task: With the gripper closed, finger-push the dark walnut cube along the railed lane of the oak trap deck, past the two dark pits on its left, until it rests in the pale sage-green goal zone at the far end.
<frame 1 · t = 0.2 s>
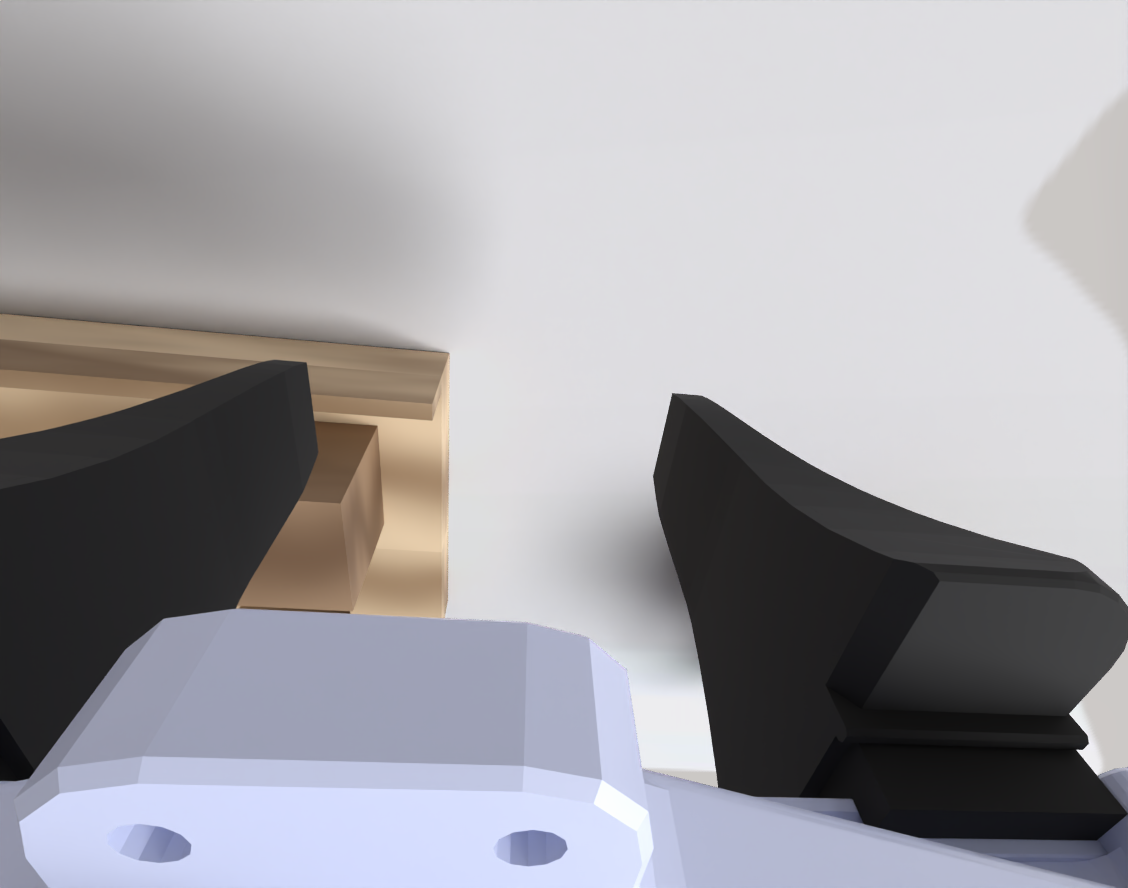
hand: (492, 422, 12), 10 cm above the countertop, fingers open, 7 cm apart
trap deck: (203, 477, 24), on the countertop
walnut block: (319, 473, 21), point 2 cm above the countertop, touching trap deck
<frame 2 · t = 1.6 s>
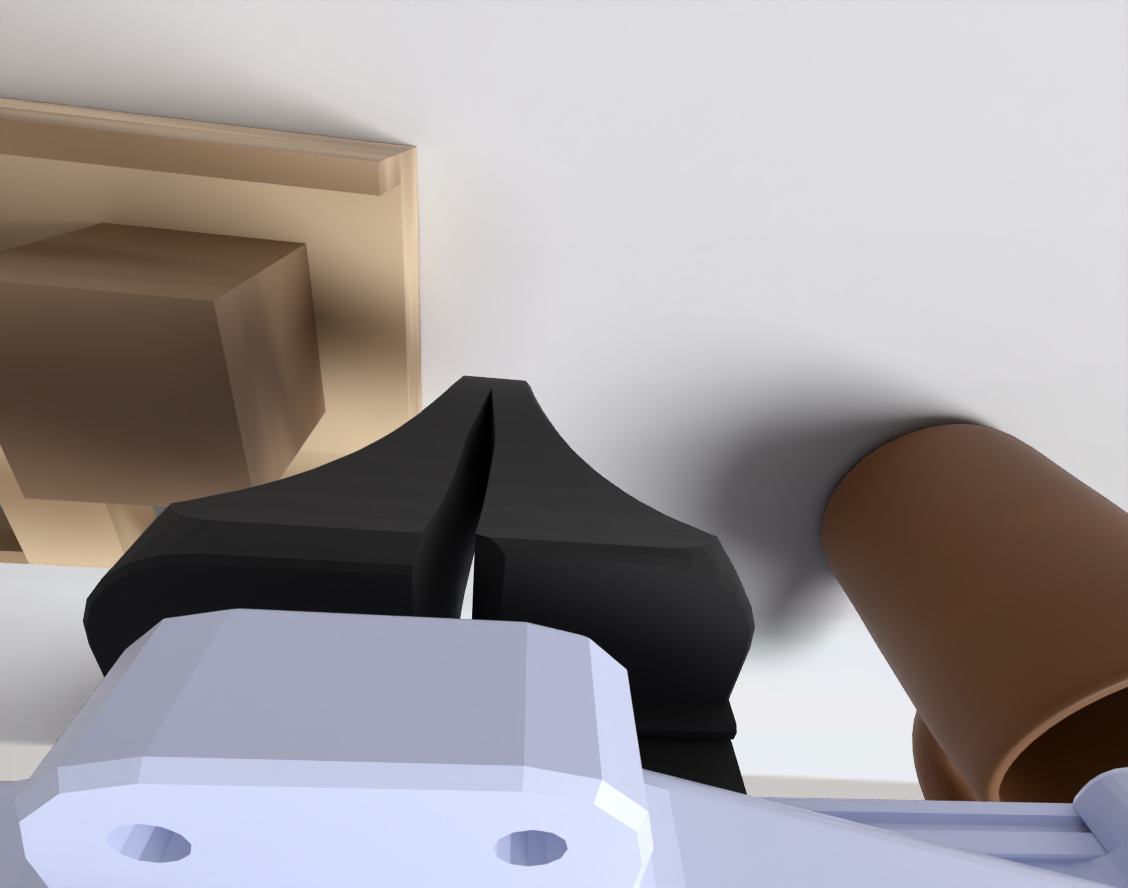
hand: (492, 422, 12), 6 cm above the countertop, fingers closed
mug: (895, 547, 22), on the countertop
trap deck: (73, 354, 17), on the countertop
walnut block: (224, 325, 14), point 2 cm above the countertop, touching trap deck
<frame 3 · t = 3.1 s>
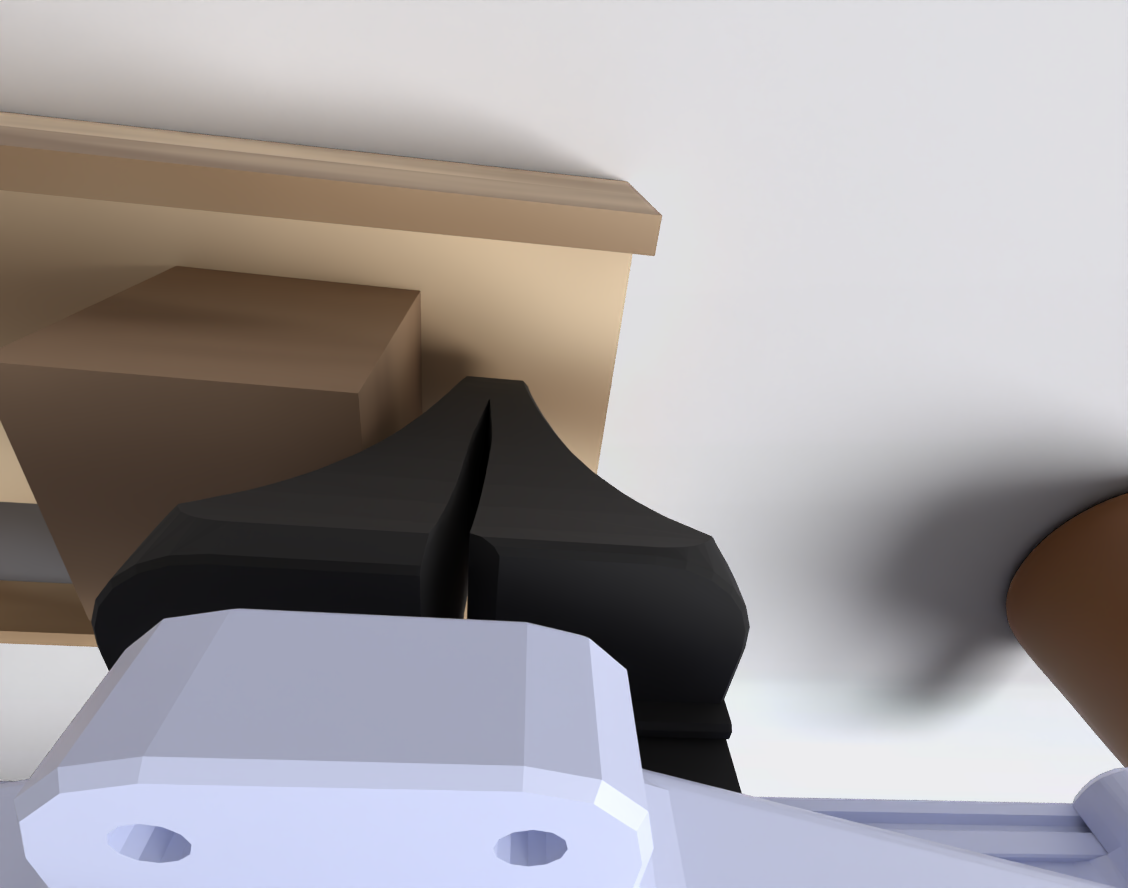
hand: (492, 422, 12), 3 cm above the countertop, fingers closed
mug: (1078, 610, 20), on the countertop
trap deck: (199, 416, 15), on the countertop
walnut block: (313, 385, 12), point 2 cm above the countertop, touching gripper
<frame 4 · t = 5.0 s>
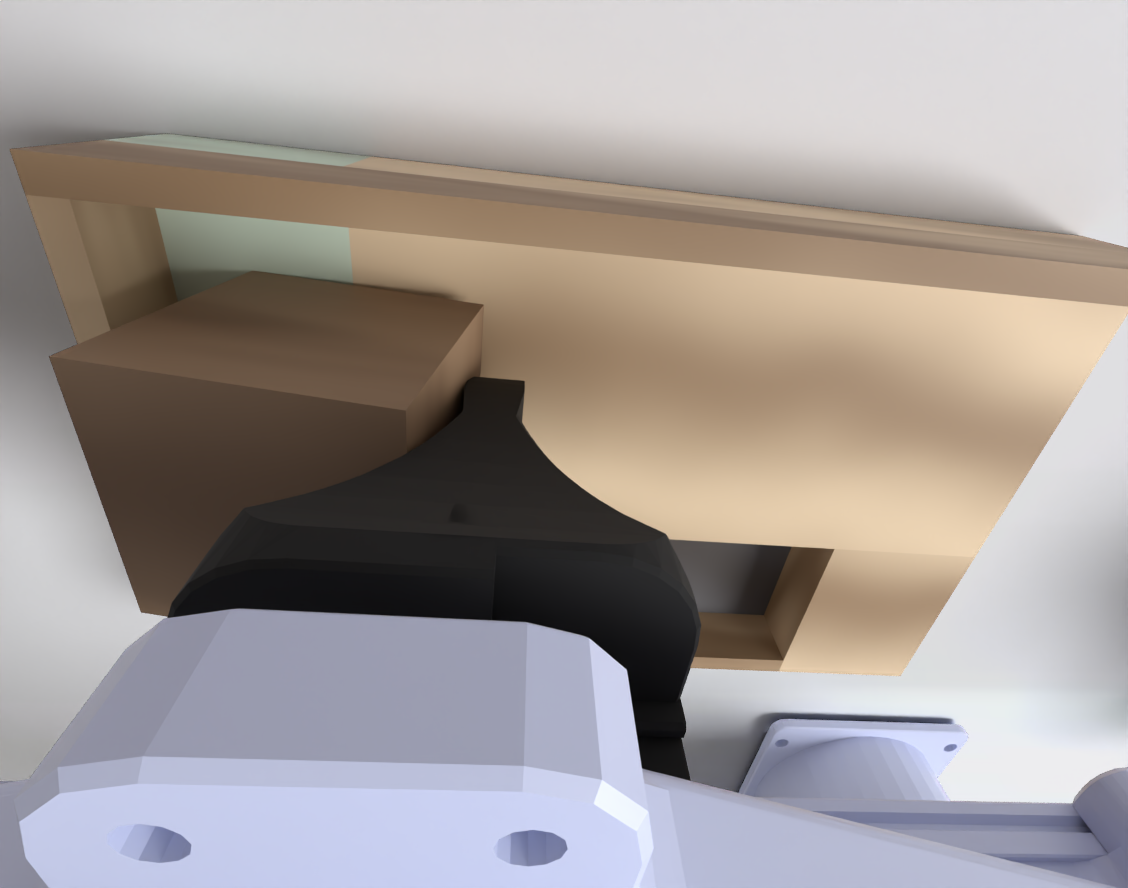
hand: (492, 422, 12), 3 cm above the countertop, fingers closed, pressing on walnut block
trap deck: (612, 445, 16), on the countertop
walnut block: (373, 393, 12), point 2 cm above the countertop, tilted 8°, touching gripper, trap deck
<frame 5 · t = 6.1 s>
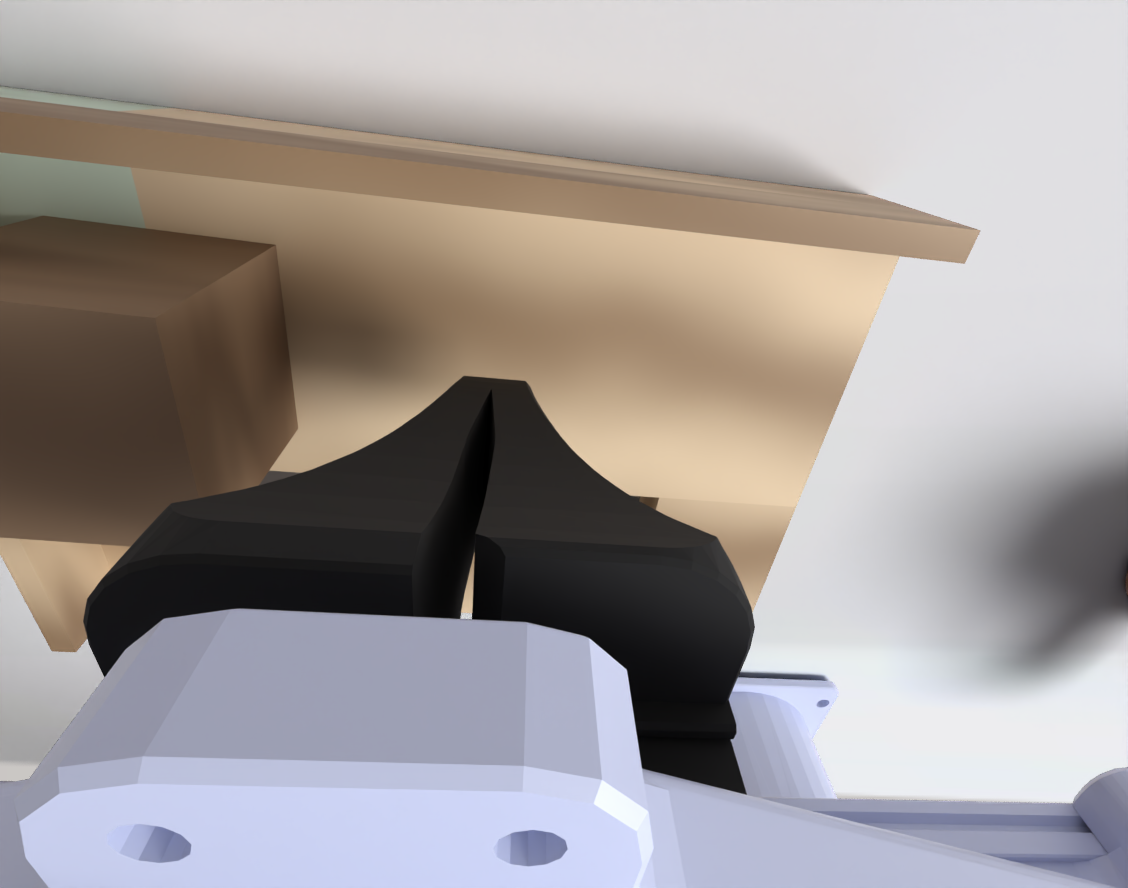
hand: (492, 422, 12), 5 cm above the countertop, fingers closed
trap deck: (451, 398, 16), on the countertop
walnut block: (184, 333, 13), point 2 cm above the countertop, touching trap deck
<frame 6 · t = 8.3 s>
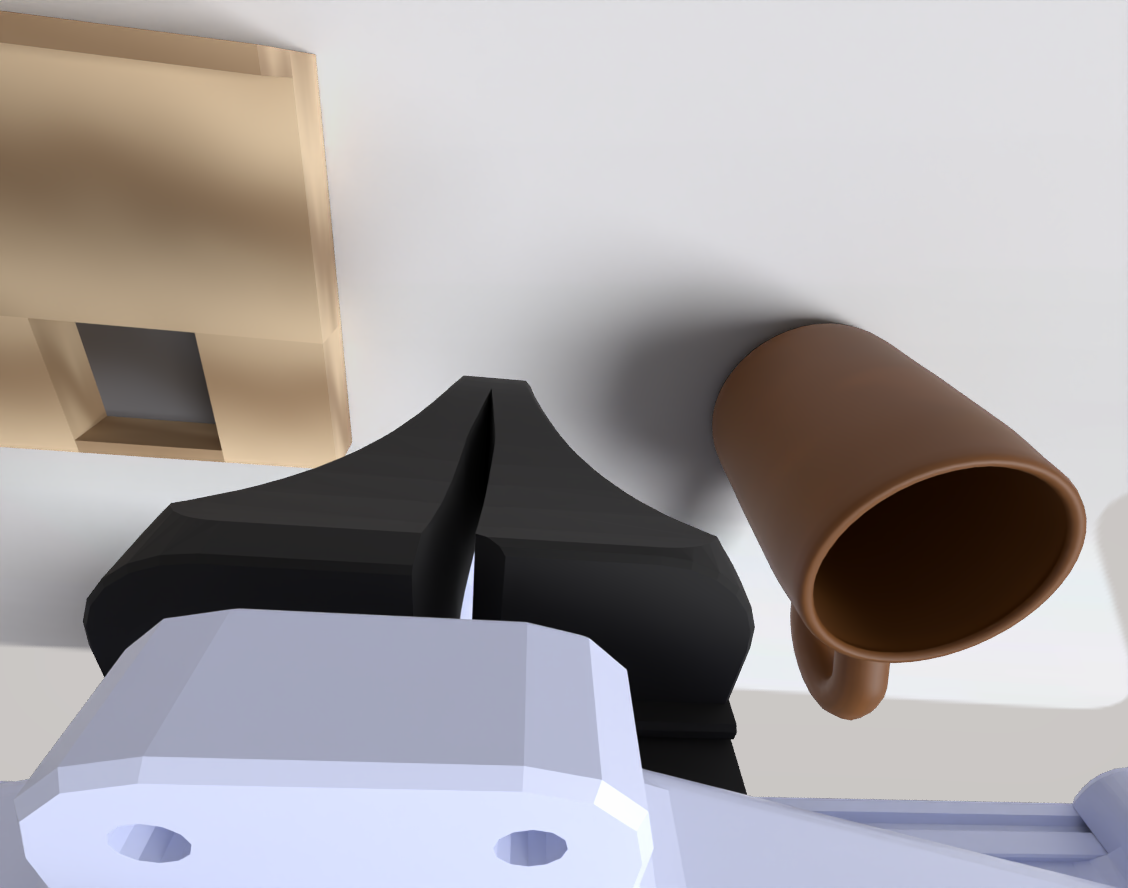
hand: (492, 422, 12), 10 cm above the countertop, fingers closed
mug: (786, 451, 24), on the countertop
trap deck: (24, 250, 19), on the countertop
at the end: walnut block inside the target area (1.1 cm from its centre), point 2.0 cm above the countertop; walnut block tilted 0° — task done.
